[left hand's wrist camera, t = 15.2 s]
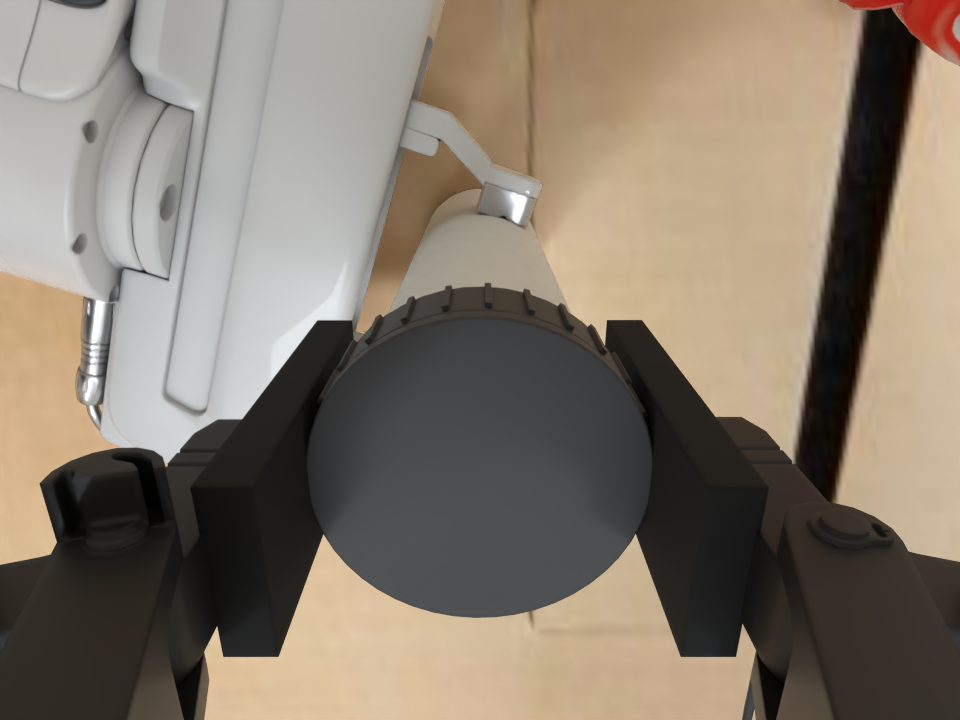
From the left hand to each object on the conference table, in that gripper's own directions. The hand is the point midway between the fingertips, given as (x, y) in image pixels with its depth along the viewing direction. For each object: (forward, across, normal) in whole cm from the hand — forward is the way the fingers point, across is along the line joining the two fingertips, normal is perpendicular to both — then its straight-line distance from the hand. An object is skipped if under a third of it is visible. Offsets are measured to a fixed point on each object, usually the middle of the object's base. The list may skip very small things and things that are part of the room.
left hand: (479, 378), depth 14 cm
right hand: (+9, -1, 0) cm, 9 cm away
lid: (-4, 0, 0) cm, 4 cm away
